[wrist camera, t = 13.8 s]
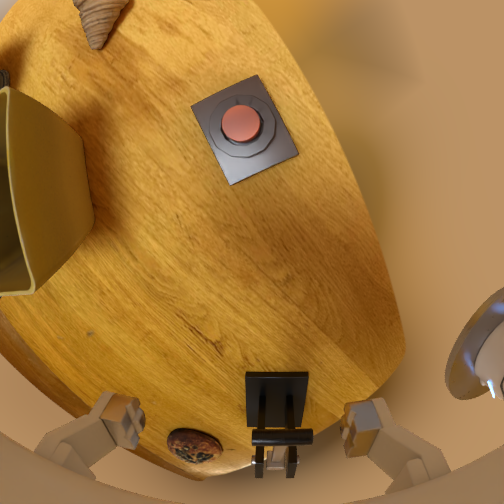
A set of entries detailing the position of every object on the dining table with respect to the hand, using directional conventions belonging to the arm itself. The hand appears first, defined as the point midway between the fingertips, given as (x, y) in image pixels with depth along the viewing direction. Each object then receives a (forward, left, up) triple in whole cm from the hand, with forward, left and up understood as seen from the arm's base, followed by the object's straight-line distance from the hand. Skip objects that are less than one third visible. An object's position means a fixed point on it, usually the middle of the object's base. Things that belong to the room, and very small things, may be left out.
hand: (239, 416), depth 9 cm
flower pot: (+29, -8, -25) cm, 39 cm away
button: (+2, -13, -21) cm, 25 cm away
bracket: (-2, +25, -25) cm, 35 cm away
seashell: (+21, -35, -25) cm, 48 cm away
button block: (+2, -13, -25) cm, 28 cm away
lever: (-2, +18, -11) cm, 21 cm away
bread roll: (+13, +40, -25) cm, 48 cm away
